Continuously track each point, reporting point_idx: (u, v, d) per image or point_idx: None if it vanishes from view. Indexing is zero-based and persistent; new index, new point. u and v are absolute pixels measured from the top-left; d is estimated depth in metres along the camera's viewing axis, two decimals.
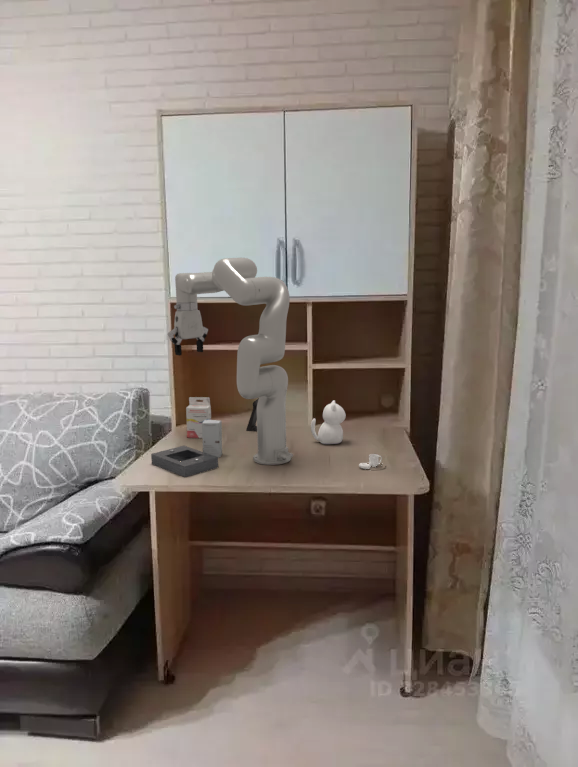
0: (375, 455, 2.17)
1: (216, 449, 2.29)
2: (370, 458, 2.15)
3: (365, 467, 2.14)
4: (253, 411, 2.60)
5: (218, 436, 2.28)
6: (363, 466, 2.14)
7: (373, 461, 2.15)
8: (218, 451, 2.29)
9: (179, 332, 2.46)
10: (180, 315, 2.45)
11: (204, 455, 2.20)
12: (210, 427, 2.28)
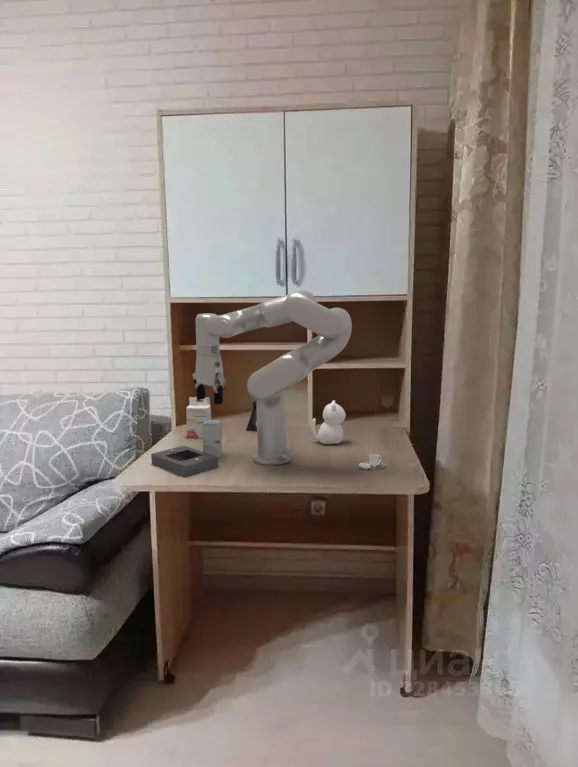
0: (375, 455, 2.18)
1: (216, 449, 2.29)
2: (370, 458, 2.16)
3: (365, 467, 2.14)
4: (253, 411, 2.60)
5: (218, 436, 2.28)
6: (363, 466, 2.14)
7: (373, 461, 2.15)
8: (218, 451, 2.29)
9: None
10: None
11: (204, 455, 2.20)
12: (210, 427, 2.28)
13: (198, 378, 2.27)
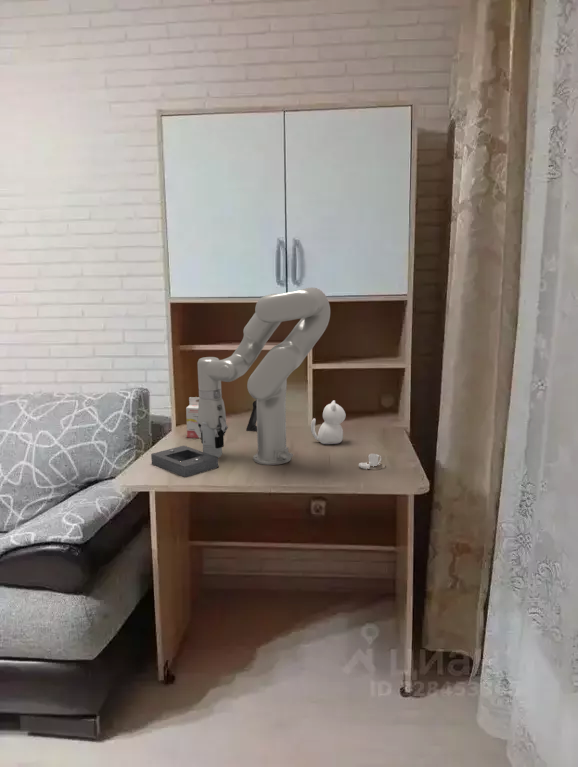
0: (375, 455, 2.18)
1: (216, 449, 2.29)
2: (370, 458, 2.16)
3: (365, 467, 2.14)
4: (253, 411, 2.60)
5: None
6: (363, 466, 2.14)
7: (373, 461, 2.15)
8: (218, 451, 2.29)
9: (224, 420, 2.26)
10: (223, 402, 2.26)
11: (204, 455, 2.20)
12: None
13: (201, 420, 2.30)
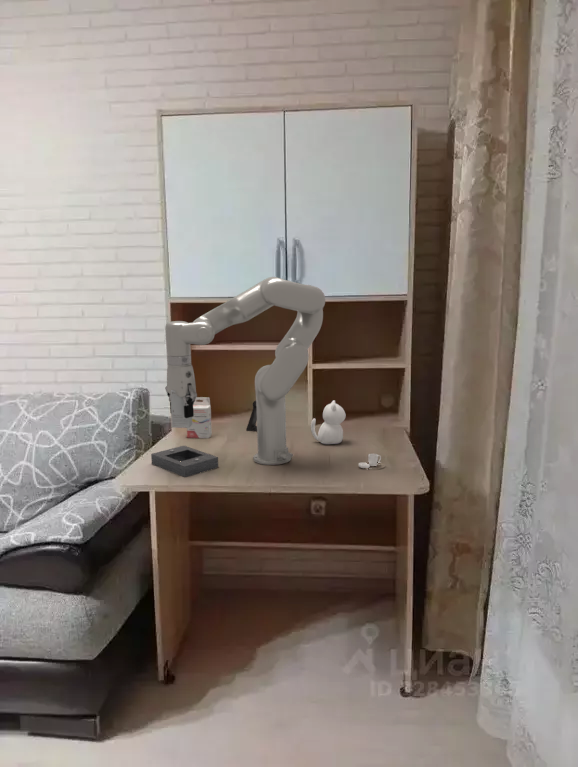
0: (374, 455, 2.18)
1: (185, 419, 2.16)
2: (369, 458, 2.16)
3: (364, 467, 2.14)
4: (253, 411, 2.60)
5: None
6: (362, 466, 2.14)
7: (372, 461, 2.16)
8: (187, 421, 2.16)
9: (194, 388, 2.14)
10: (192, 369, 2.13)
11: (204, 455, 2.20)
12: None
13: (169, 389, 2.17)
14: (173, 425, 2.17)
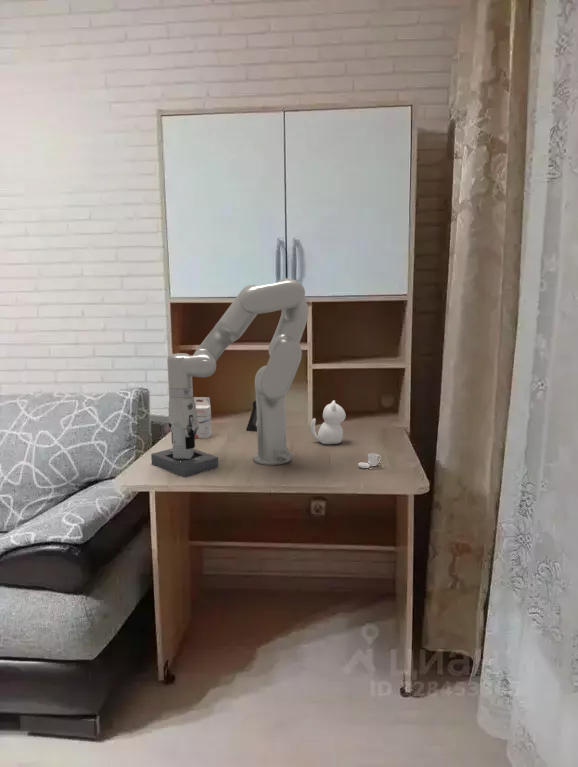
0: (374, 454, 2.18)
1: (187, 450, 2.18)
2: (369, 457, 2.16)
3: (364, 466, 2.14)
4: (253, 411, 2.60)
5: None
6: (362, 465, 2.14)
7: (372, 460, 2.16)
8: (189, 452, 2.18)
9: (195, 420, 2.16)
10: (194, 400, 2.15)
11: (204, 455, 2.20)
12: None
13: (171, 420, 2.19)
14: (174, 456, 2.19)
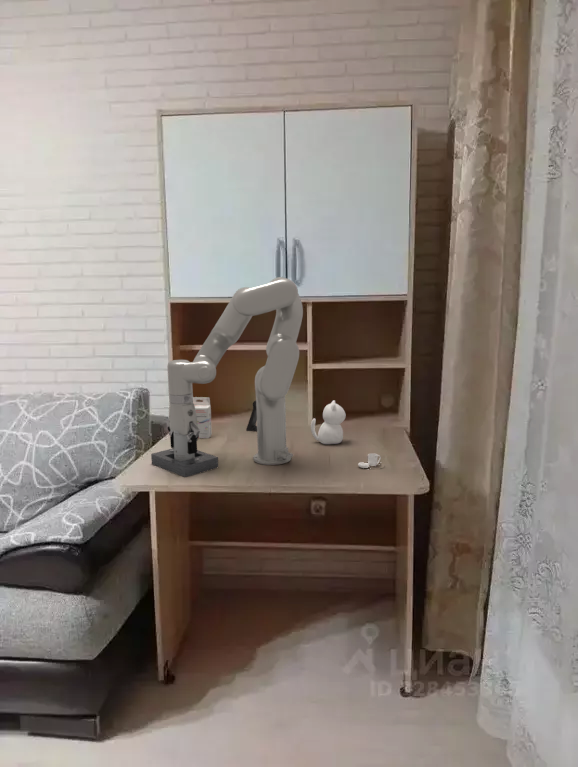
0: (374, 454, 2.18)
1: None
2: (369, 457, 2.16)
3: (364, 466, 2.14)
4: (253, 411, 2.60)
5: None
6: (362, 465, 2.14)
7: (372, 460, 2.16)
8: None
9: None
10: (194, 407, 2.16)
11: (204, 455, 2.20)
12: (182, 436, 2.17)
13: (171, 426, 2.19)
14: None
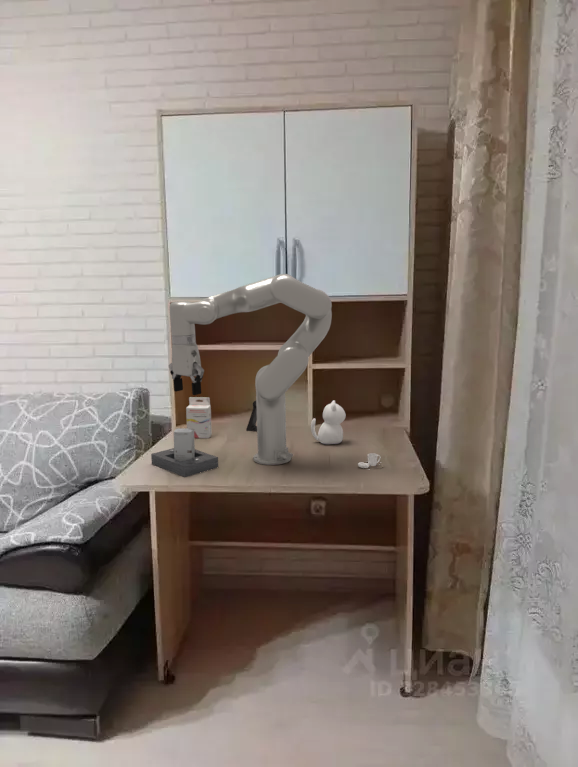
0: (374, 454, 2.18)
1: None
2: (369, 457, 2.16)
3: (364, 466, 2.14)
4: (253, 411, 2.60)
5: (190, 445, 2.18)
6: (362, 465, 2.14)
7: (372, 460, 2.16)
8: None
9: None
10: (197, 348, 2.16)
11: (204, 455, 2.20)
12: (182, 436, 2.17)
13: (175, 369, 2.19)
14: None
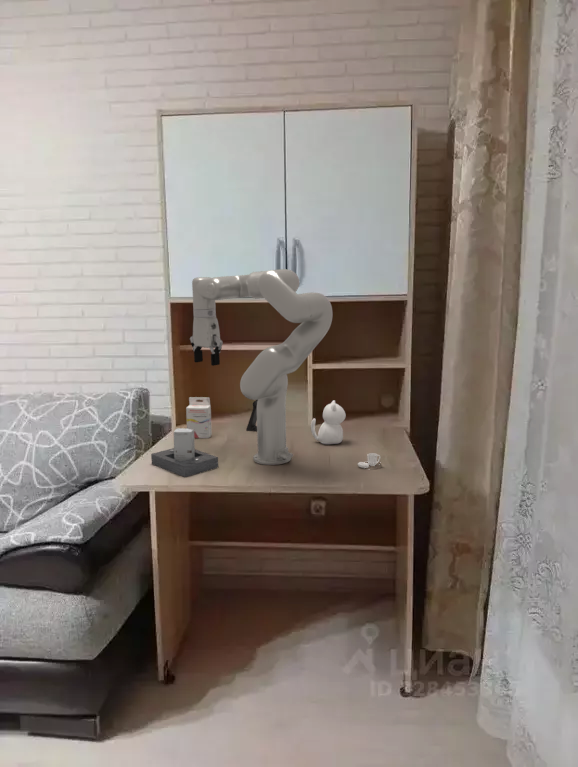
0: (373, 454, 2.18)
1: None
2: (368, 457, 2.16)
3: (364, 466, 2.14)
4: (253, 411, 2.60)
5: (190, 445, 2.18)
6: (362, 465, 2.15)
7: (372, 460, 2.16)
8: None
9: None
10: (217, 321, 2.30)
11: (204, 455, 2.20)
12: (182, 436, 2.17)
13: (195, 341, 2.34)
14: None
